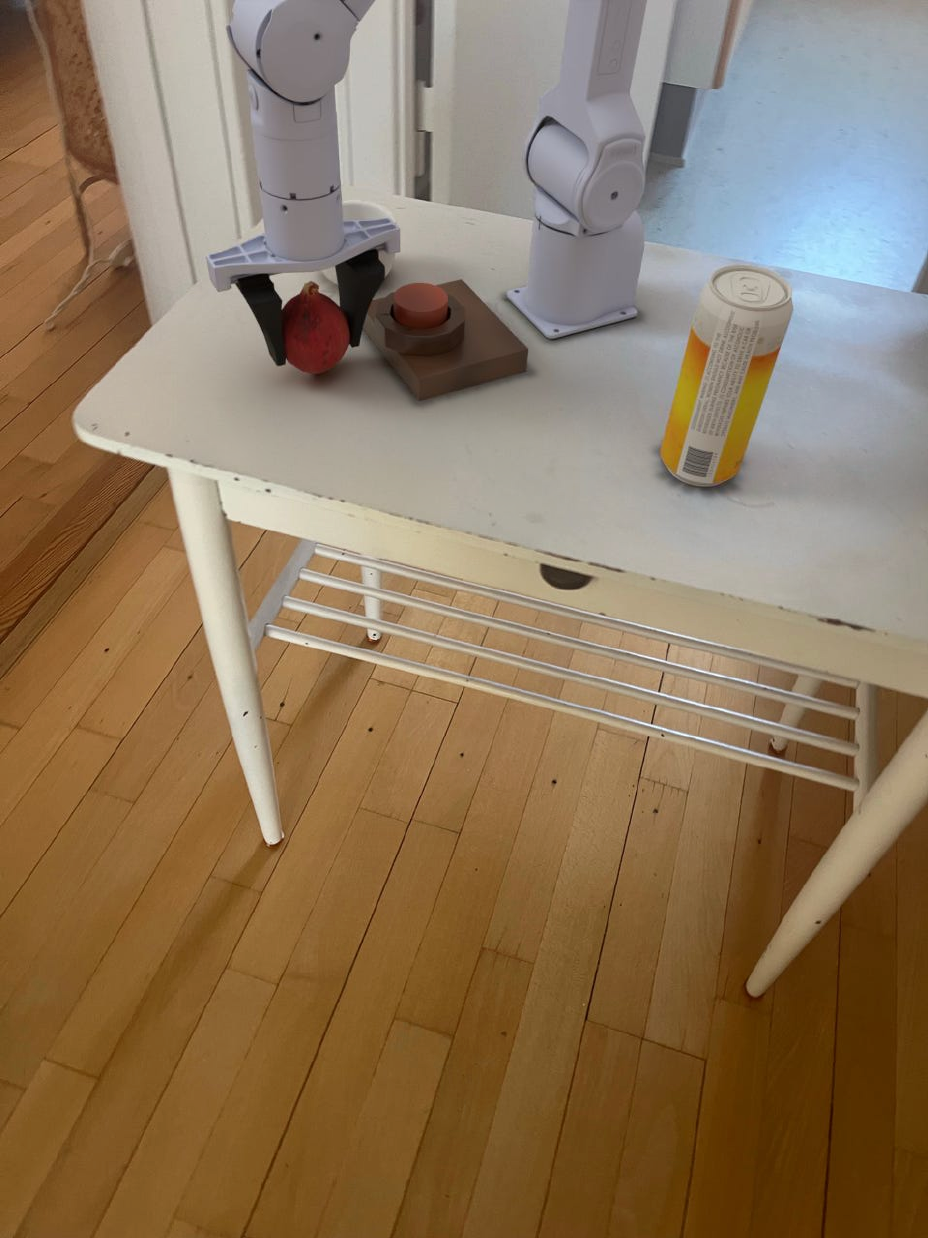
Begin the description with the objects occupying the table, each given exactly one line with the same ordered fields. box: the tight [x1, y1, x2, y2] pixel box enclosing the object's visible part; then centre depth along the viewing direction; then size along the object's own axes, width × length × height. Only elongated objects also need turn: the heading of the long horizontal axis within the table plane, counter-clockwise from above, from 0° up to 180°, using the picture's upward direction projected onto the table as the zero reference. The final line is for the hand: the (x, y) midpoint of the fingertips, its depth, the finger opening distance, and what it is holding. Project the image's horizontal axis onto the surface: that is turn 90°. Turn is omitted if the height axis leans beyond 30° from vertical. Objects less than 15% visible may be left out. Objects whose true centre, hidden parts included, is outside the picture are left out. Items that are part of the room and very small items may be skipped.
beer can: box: [660, 264, 794, 488], centre depth 67 cm, size 6×6×15 cm
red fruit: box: [281, 280, 350, 375], centre depth 76 cm, size 6×6×8 cm
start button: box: [393, 282, 448, 329], centre depth 78 cm, size 4×4×2 cm
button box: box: [362, 278, 529, 402], centre depth 80 cm, size 11×12×4 cm
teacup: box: [320, 199, 398, 286], centre depth 86 cm, size 10×8×5 cm
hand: (315, 349), depth 77 cm, fingers closed on red fruit, 6 cm apart
